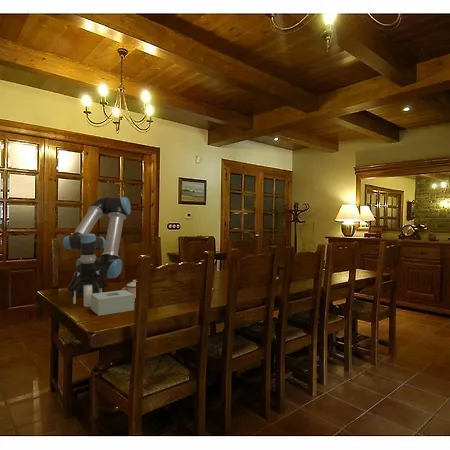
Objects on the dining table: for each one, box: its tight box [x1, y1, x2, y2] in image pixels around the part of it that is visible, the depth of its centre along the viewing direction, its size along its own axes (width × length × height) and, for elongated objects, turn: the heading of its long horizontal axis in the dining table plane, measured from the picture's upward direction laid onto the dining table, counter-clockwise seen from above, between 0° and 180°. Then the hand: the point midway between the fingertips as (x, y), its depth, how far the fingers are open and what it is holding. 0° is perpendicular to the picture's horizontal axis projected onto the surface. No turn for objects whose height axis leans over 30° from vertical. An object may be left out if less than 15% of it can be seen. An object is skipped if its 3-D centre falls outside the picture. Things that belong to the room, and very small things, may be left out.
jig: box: [90, 289, 135, 317], centre depth 176 cm, size 14×18×8 cm
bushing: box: [83, 285, 92, 308], centre depth 184 cm, size 4×4×11 cm
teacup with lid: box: [121, 279, 137, 303], centre depth 197 cm, size 12×9×12 cm
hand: (87, 301), depth 183 cm, fingers open, 13 cm apart
